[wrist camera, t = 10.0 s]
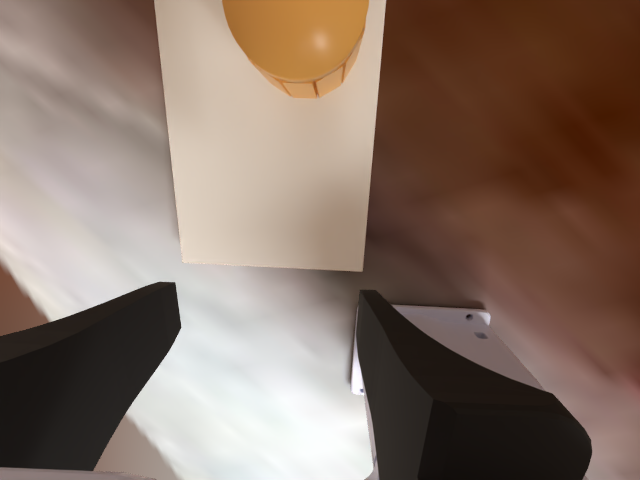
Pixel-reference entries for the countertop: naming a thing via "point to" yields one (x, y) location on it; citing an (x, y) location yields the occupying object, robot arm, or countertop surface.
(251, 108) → the mounting plate
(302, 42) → the cupcake
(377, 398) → the robot arm
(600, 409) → the countertop surface
